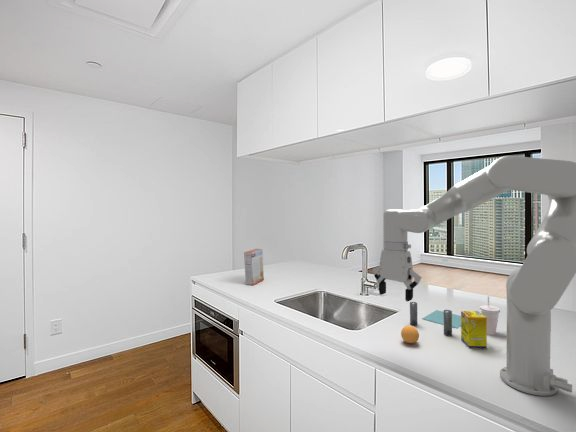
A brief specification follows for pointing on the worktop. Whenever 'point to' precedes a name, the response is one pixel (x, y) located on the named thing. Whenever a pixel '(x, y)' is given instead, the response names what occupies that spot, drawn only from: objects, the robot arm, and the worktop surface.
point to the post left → (413, 314)
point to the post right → (448, 322)
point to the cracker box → (254, 266)
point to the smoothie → (490, 317)
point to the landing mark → (439, 318)
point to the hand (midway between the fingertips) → (395, 296)
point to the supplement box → (474, 329)
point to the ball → (410, 334)
